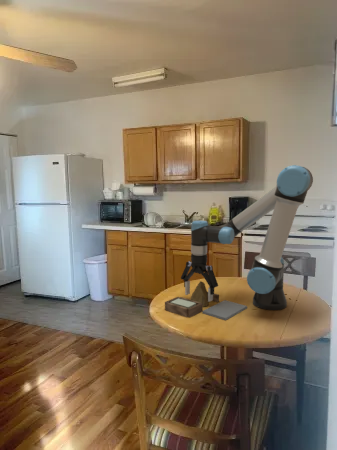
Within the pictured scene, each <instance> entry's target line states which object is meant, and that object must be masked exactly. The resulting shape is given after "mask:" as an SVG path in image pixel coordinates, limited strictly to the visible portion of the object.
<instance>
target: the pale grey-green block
mask: <svg viewBox="0 0 337 450" xmlns="http://www.w3.org/2000/svg"><path fill="white" fill-rule="evenodd" d="M170 303H172V304H175V305H178V306H182V307H185V308H188V309H189V308H191V307H193V306H195V305H196V303H194V302H190V301H186V300H183V299H179V298H178V299H176V300H174V301H172V302H170Z"/></svg>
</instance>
